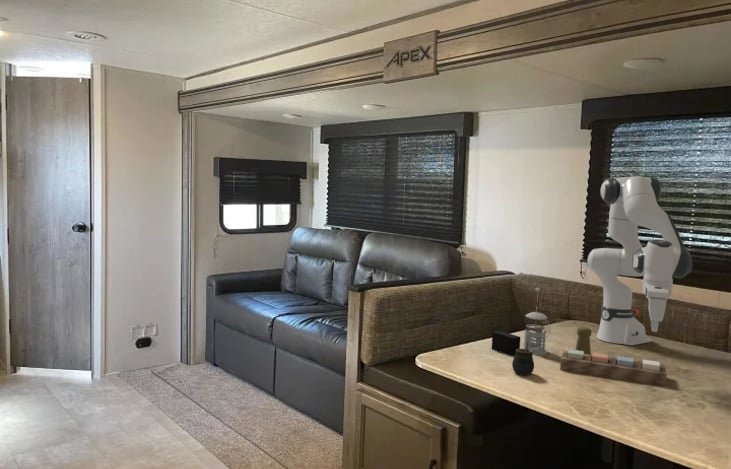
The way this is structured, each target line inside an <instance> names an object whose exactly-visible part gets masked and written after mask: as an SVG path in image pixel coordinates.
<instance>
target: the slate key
mask: <svg viewBox="0 0 731 469" xmlns="http://www.w3.org/2000/svg"><path fill="white" fill-rule="evenodd" d="M616 358H617V365H621V366H628V367H633V361H634V358H633V357H626V356H621V355H618V356H617V357H616Z"/></svg>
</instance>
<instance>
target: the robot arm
mask: <svg viewBox="0 0 731 469" xmlns="http://www.w3.org/2000/svg"><path fill="white" fill-rule="evenodd" d="M661 196H662V185H661V182H660V180H659V179H658V178H656V177H651V176H648V177H645V176H640V175H635V176H625V177H623V176H622V177H609V178H606V179H604V180H603V181H602V184H601V187H600V197H601V199H602V201H603V202H604V203H606V204H610V207H609V212H608V213H609V214H608V215H609V217H608V230H607V233H608V236H609V237H610V239H612V240H614V241H615V242H618V243H619V244H621V246H622V247H623V248H613V247H612V248H610V247H602V248H601V247H600V248H593V249H592V250H591V251H590V252H589V253H588V256H587V265H588V267H589V269H590V270H591V271H592V272H593V273H594V274H596V276H597V277H598V278H599V280H600V283H601V286H602V289H603V290H602V291H603V292H602V293H603V300H602V301H603V302H602V305H601V312H600V313H601V318H600V321H599V322H600V324H599V327H598V331H597V334H596V339H598V340H600V341H604V342H606V343H612V344H620V345H626V346H636V345H641V344H647V343H651V342H652V339H651V337H648V336H647V335H646V327H645V326H644V325H643V324H642V323H641V322H640V321H639V320H638V319H636V318H635V315H639V309H636V308H632V303H633V302H632V301H633V291H632V289H631V287H630V286H628V285H627V284H625V283H623V282H622V281H620V280H619V279H618V276H627V277H643V278H642V290H641V292H642V294H644V295H645V298H646V299H648V307H647V308H648V313H649V314H648V315H649V321H650V328H651V332H654V333H657V332H658V329H659V323H662V322H663V320H664V316H665V311H666V306H667V300H669V299H670V297H671V296H672V294H673V291H672V290H673V284H674V283H673V282H674V279H673V278H675V279H682V278H684V277H686V276H687V275H689V274H690V273H691V272H692V268H693V259H692V255H691V254H690V253H689V251H688V250H687V248H686V247H685V245H684V243H683V241H682V238H681V236H680V234H679V231H678V230H677V227H676V224H675V223H674V220H673V219H672V217H671V215H670V214H669V213H667V212H666V211H665V210H663V208H661V207H660V205H659V204H658V202H657V201H659V200H660V198H661ZM639 226H640V227H643V228H646V229H649V230H652V231H654V232H656V233H658V234H659V235H661V237H662V239H650V240H649V241H648V242H647V245H646V246H644V247H643V245H642V243H641V242H640V239H639V234H638V232H639V230H638V227H639Z"/></svg>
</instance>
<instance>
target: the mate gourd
mask: <svg viewBox="0 0 731 469" xmlns="http://www.w3.org/2000/svg"><path fill="white" fill-rule="evenodd" d="M527 347H528V343H526V349H522V348H520V349H516V352H515V353H516V354H515V356H514V357H513V359H512V363H511V365H512V369H513V371H514V373H515V374H517V375H520V376H530V375H531V374H532V373H533V372H534V369H535V362H534V358H533V355H534V354H533V352H532V351H531V350H528V349H527Z"/></svg>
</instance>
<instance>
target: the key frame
mask: <svg viewBox="0 0 731 469" xmlns="http://www.w3.org/2000/svg"><path fill="white" fill-rule="evenodd" d="M568 351H569V350H568ZM568 351H567V350H563V352H562V354H561V357H560V364H559V370H560V371H565V372H573V373H578V374H586V375H591V376H597V377H604V378H611V379H617V380H618V379H619V380H623V381H629V382H630V381H631V382H635V383H636V382H637V383H642V384H649V385H655V386H662V387H666V386H667V376H668V375H667V374H668V373H667V369H666V365H664V364H660V371H655V370H648V369H642V365H643V361H637V360H633V367H628V366H621V365H617V357H609V356H608V363H601V362H594V361H592V355H593V354H591V355H589V354H584V358H583V360H581V359H574V358H568Z"/></svg>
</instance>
